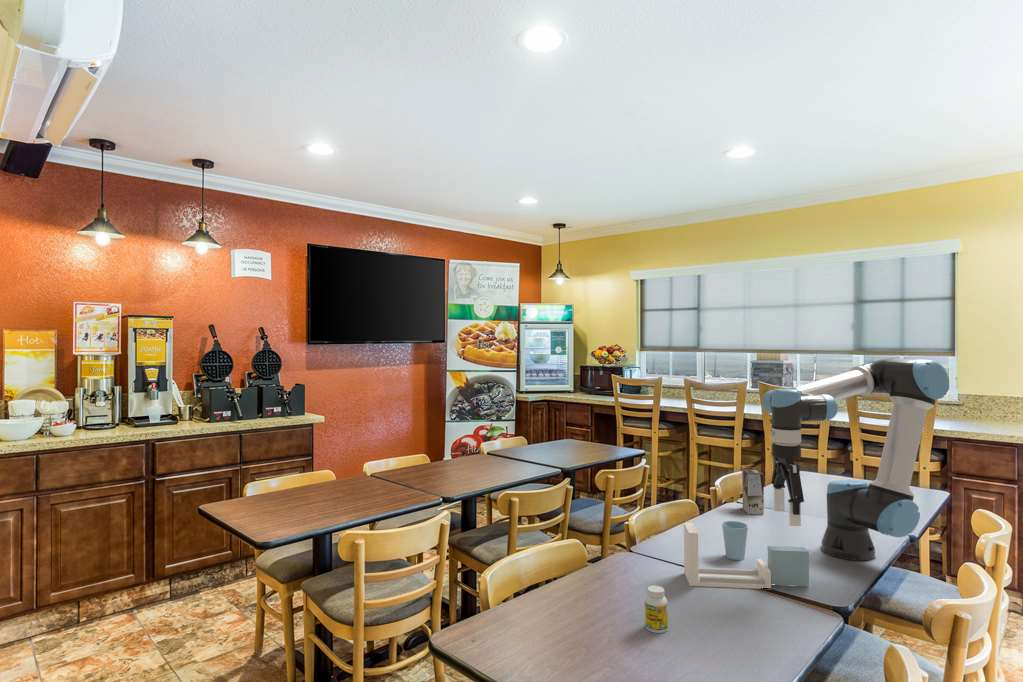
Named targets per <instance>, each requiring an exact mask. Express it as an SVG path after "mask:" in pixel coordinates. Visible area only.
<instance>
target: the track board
mask: <svg viewBox="0 0 1023 682" xmlns="http://www.w3.org/2000/svg"><path fill="white" fill-rule="evenodd" d="M683 538H684V539H683V562H684V563H683V565H684V568H683V569H684V571H683V572H684V576H685V578H686V580H687V582H688V586H689V587H707V588H708V587H711V588H731V589H732V588H733V589H735V588H736V589H753V590H754V589H755V590H764V589H763V588H771V589H772V585H771V571H770V570H769V568H768V565H766V563H765V561H764V560H763V558H756V564H755V565H756V569H754V568H753V569H750V568H732V567H731V568H729V567H727V568H726V567H725V568H724V567H703V566H702V567H699V532H698V530H697V528H696V527H695V525H694V523H692V522H684V523H683ZM761 588H762V589H761Z"/></svg>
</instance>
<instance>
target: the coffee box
mask: <svg viewBox="0 0 1023 682" xmlns="http://www.w3.org/2000/svg"><path fill="white" fill-rule="evenodd" d="M741 471H742V472H741V473H742V474H741V475H742V477H741V479H742V481H741V482H742V483H741V485H742V488H741V489H742V509H743V510H744V511H745V513H747V515H763V516H764V514H765V511H764V510H765V507H764V506H765V502H764V501H765V499H764V498H765V497H764V496H765V495H764V492H765V490H764V489H765V487H764V486H765V484H764V483H765V479H764V475H765V474H764V473H763V472H761V471H760V470H759V469H757V468H743V469H741Z"/></svg>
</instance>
